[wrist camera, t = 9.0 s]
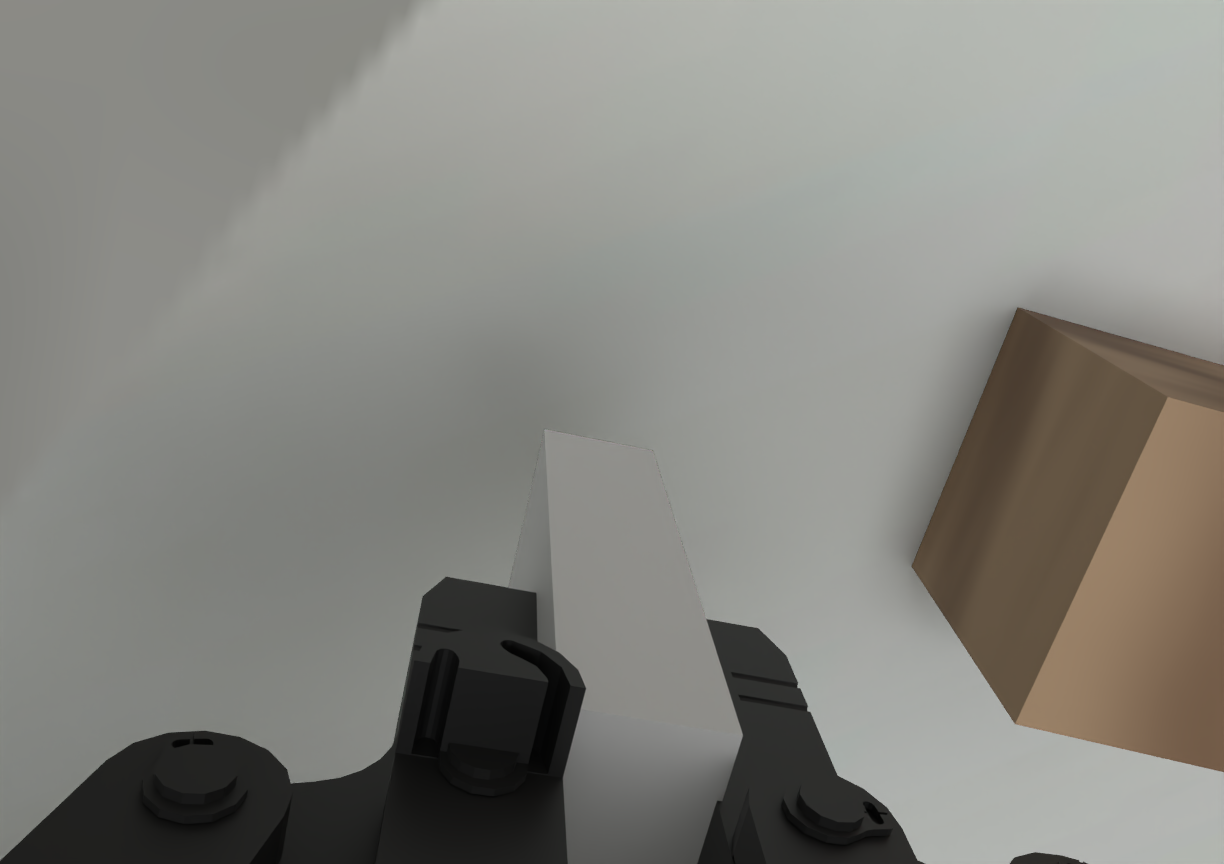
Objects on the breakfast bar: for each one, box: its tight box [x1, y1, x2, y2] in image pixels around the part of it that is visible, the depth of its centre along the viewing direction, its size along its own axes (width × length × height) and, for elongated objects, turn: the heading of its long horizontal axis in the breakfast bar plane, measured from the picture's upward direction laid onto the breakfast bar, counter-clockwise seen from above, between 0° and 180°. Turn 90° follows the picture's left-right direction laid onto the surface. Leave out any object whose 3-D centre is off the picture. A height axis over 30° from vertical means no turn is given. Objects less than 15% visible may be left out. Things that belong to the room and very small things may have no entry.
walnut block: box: [912, 308, 1224, 772], centre depth 21 cm, size 6×6×6 cm
